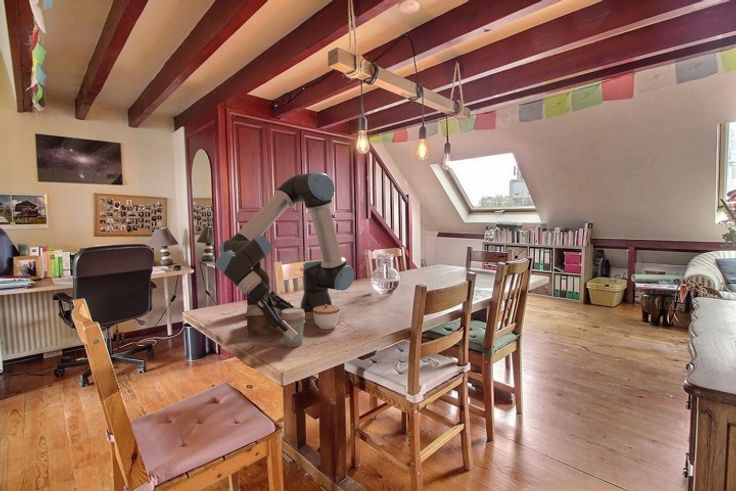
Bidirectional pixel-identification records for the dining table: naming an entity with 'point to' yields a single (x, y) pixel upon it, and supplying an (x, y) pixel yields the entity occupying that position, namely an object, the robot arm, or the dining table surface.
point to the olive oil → (262, 275)
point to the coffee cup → (294, 325)
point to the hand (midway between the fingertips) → (299, 330)
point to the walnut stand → (260, 322)
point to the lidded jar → (326, 316)
